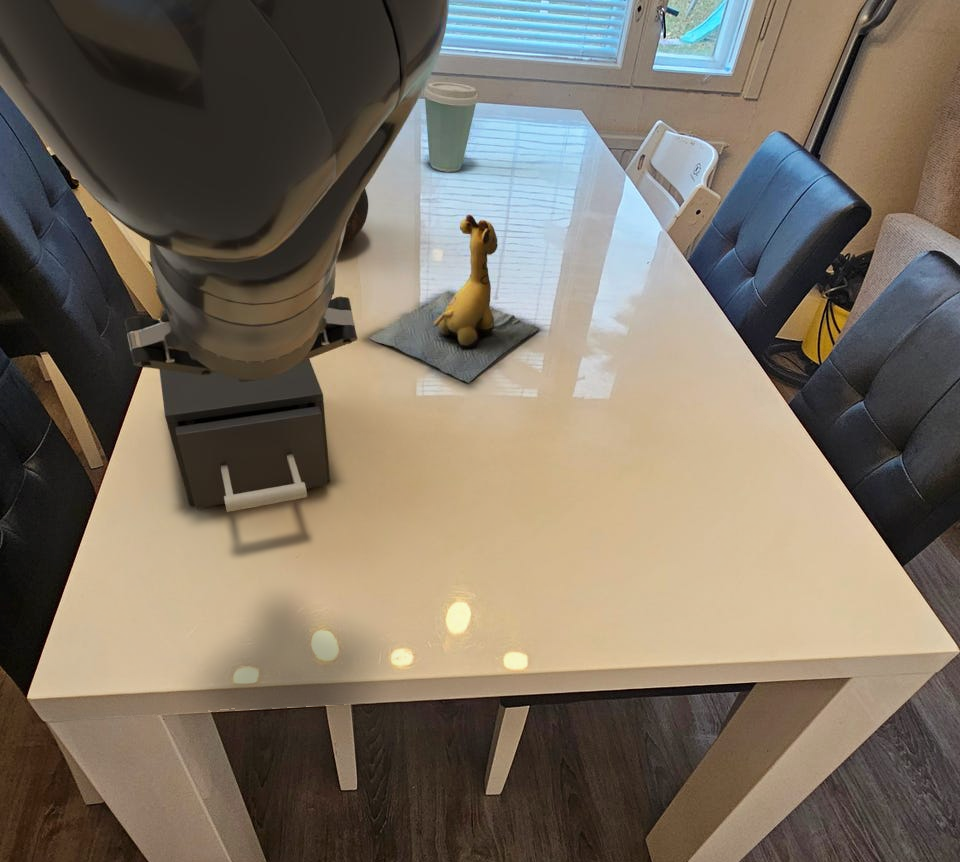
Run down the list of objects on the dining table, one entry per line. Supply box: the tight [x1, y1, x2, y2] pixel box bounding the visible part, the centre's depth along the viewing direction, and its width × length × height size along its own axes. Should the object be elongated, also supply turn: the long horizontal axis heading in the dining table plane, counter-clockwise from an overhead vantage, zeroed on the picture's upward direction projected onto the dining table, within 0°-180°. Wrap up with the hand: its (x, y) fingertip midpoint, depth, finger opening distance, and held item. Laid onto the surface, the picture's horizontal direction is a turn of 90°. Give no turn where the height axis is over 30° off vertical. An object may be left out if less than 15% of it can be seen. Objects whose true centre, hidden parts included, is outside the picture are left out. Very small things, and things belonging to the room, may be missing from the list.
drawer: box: [175, 404, 328, 513], centre depth 69 cm, size 20×13×9 cm, turn 21°
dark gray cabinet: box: [158, 353, 331, 506], centre depth 72 cm, size 16×14×11 cm
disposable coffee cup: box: [423, 81, 479, 173], centre depth 140 cm, size 11×11×15 cm
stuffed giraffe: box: [369, 214, 541, 384], centre depth 91 cm, size 16×18×16 cm
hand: (246, 366), depth 48 cm, fingers closed
